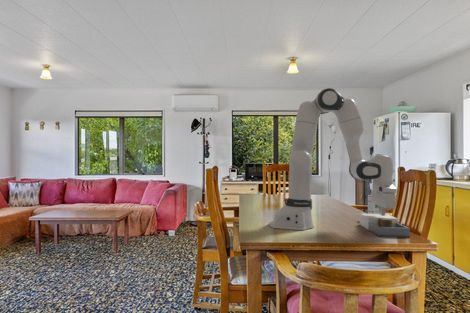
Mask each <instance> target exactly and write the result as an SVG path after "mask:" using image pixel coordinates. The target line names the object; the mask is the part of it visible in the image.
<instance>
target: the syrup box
mask: <svg viewBox="0 0 470 313" xmlns="http://www.w3.org/2000/svg"><path fill="white" fill-rule="evenodd" d="M371 197H372V194H368V195H367V214H379V209H378V205H376V204H374V203H372V201H371Z"/></svg>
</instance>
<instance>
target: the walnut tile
mask: <svg viewBox="0 0 470 313" xmlns="http://www.w3.org/2000/svg"><path fill="white" fill-rule="evenodd" d="M378 226H379V227H392V220H390V219H379V224H378Z"/></svg>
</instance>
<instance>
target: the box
mask: <svg viewBox="0 0 470 313" xmlns="http://www.w3.org/2000/svg"><path fill="white" fill-rule="evenodd" d="M368 231H369V232H371V233H372V234H374V235H376V236H377V237H387V238H388V237H391V238H410V237H411V234H410V233H411V232H410V231H411V228H410V227H408V226H406V225H403V224H401V223H399V222H398V223H396V227H379V226H377V225H375V224H373V223H371V222H368Z"/></svg>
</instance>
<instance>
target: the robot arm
mask: <svg viewBox="0 0 470 313" xmlns="http://www.w3.org/2000/svg"><path fill="white" fill-rule="evenodd" d="M328 113H333V114H334V116H336V118H337V122H338V126H339V128H340V131H341V135H342V136H343V140H344V142H345V146H346V150H347V154H348V158H349V165H348V173H349V175H350V176H351V178H353V179H354V180H361V181H370V180H372V190H371V195H372V197H371V201H372V203H374V204H376V205H378V209H379V214H380V215H382V216H385V214H386V212H387V210H394V209H395V207H396V202H397V201H396V200H397V196H396V193H397V191H398V190H397V188H396V187H395V185H394V184H393V182H394V181H393V174H394V163H393V159H392V157H391V156H390V155H386V154H380V153H378V154H377V153H376V154H375V155H374V156H372V157H370V158H367V159H364V158H363V156H362V150H361V146H360V140H361V137H362V134H363V132H364V122H363V118H362V115H361V112H360V110H359V108H358V105H357V103H356V101H355V100H354V99H353V98H345V97H344V96H342V94H340V93H339V91H338V90H336V89H334V88H331V87H330V88H329V87H327V88H324V89H322V90H321V91H320V92H319V93H318V94H317V95H316V97H315V99H314V100H313V101H310V100H309V101H303V102H302V103H301V104H300V105H299V108H298V110H297V114H296V119H295V122H294V123H295V125H294V129H293V135H292V136H293V137H292V144H291V151H290V156H289V161H288V162H289V164H288V166H289V168H288V170H289V173H288V174H289V176H288V180H289V181H288V197H287V198H286V197H284V198H283V202H284V205H283V206H282V207H281V208H280V209H278V210H277V211H276V212H274V215H273V220H270V221H269V222H268V223H269V224H268V225H269V227H271V228H272V229H279V230H281V229H283V230H295V231H297V230H298V231H305V230H310V229H313V228H314V227H315V225H314V222H313V216H312V210H313V209H312V208H313V200H312V177H313V176H312V175H313V174H312V173H313V172H312V171H313V158H312V157H313V154H314V148H315V147H314V146H315V142H316V136H317V129H318V123H319V118H320V115H323V114H324V115H325V114H328Z"/></svg>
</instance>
